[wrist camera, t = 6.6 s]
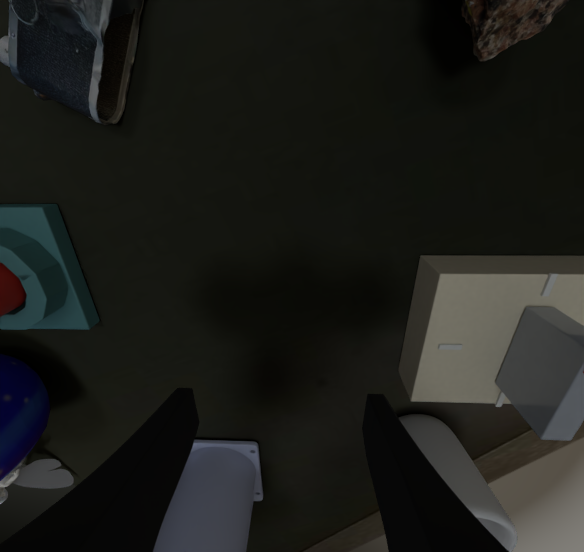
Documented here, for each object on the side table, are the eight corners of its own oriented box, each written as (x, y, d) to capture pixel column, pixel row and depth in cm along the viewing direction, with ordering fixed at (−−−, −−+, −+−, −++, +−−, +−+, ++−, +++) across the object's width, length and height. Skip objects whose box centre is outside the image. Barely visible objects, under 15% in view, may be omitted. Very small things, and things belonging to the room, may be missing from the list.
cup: (492, 446, 26) (566, 564, 18) (422, 481, 28) (463, 596, 21) (418, 387, 23) (471, 498, 16) (349, 432, 26) (367, 545, 18)
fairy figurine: (42, 425, 26) (13, 517, 23) (91, 413, 32) (72, 484, 30) (-24, 420, 25) (-60, 512, 23) (39, 409, 32) (15, 480, 30)
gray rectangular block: (518, 383, 18) (575, 445, 15) (494, 382, 18) (544, 444, 15) (554, 306, 16) (634, 356, 12) (525, 305, 16) (595, 356, 12)
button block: (100, 320, 21) (70, 345, 19) (15, 319, 22) (-27, 344, 19) (57, 203, 18) (12, 213, 15) (-45, 204, 18) (-108, 214, 15)
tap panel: (551, 374, 22) (588, 409, 19) (397, 371, 22) (411, 404, 19) (612, 253, 18) (672, 274, 15) (420, 253, 18) (442, 273, 15)
